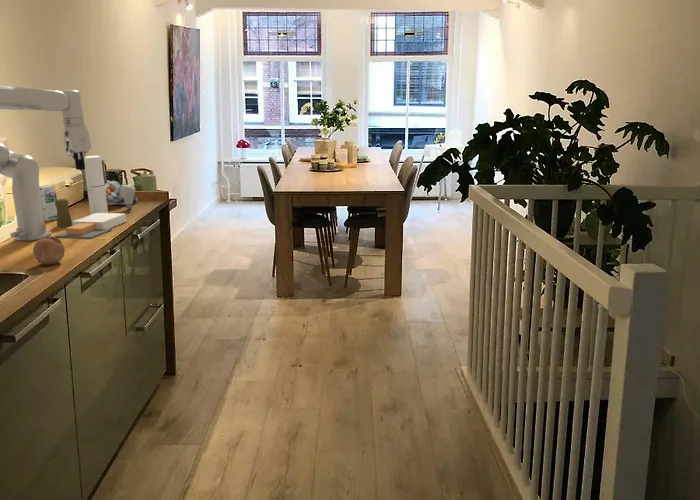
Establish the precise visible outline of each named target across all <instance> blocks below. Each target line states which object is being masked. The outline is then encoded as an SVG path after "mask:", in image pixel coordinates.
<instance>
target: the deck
mask: <svg viewBox="0 0 700 500" xmlns="http://www.w3.org/2000/svg"><path fill="white" fill-rule="evenodd" d="M124 222H125V223H127V215H126V213H119V212H118V213H117V212H108V213H94V214H91V213H90V214H89V215H86V216H83V217H80V218H78V219H74V220H72V226H73V225H76V224H79V223H96V229H112V228H115V227H117V226H120V225H123V224H125V223H124ZM122 223H123V224H122ZM119 224H120V225H119Z"/></svg>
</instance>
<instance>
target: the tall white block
mask: <svg viewBox="0 0 700 500" xmlns="http://www.w3.org/2000/svg"><path fill="white" fill-rule="evenodd" d="M84 163H85V169H84V174H85V182H86V190H87V195H88V197H87V198H88V204H89V211H90V215H91V214H94V213H109V210H108V201H107V198H106V193H105V185H104V181H105V179H104V170H103V165H102V163H103V162H102V157H101V155H87V156H85V159H84Z"/></svg>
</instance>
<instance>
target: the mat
mask: <svg viewBox="0 0 700 500" xmlns="http://www.w3.org/2000/svg"><path fill="white" fill-rule="evenodd" d="M109 232H112V228H110V229H96V230H94V231H91V232H88V233H86V234H83V235H72V234H67V233H66V231H64V232H61V233H59V234H55V235H54V236H55V237H57V238H58V239H61V238H63V239H64V238H65V239H66V238H67V239H89V240H90V239H94V238H96V237H99V236H102V235H103V234H107V233H109Z"/></svg>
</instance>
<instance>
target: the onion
mask: <svg viewBox="0 0 700 500" xmlns="http://www.w3.org/2000/svg"><path fill="white" fill-rule="evenodd" d="M55 236H56V235H53V236H52V235H50V236H49V237H46V238H43V239H38V240H36V242H35V243H34V246H33V249H32V253H33V256H34V257H35V259H36V260H37V262H38V263H40V264H41V265H42V266H53V265H56V264H58V263H60V261H61V260H63V258H64V256H65V252H66V251H65V247H64V244H63V243H62V241H61V240H60V238H58V237H55ZM51 264H53V265H51Z"/></svg>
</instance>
